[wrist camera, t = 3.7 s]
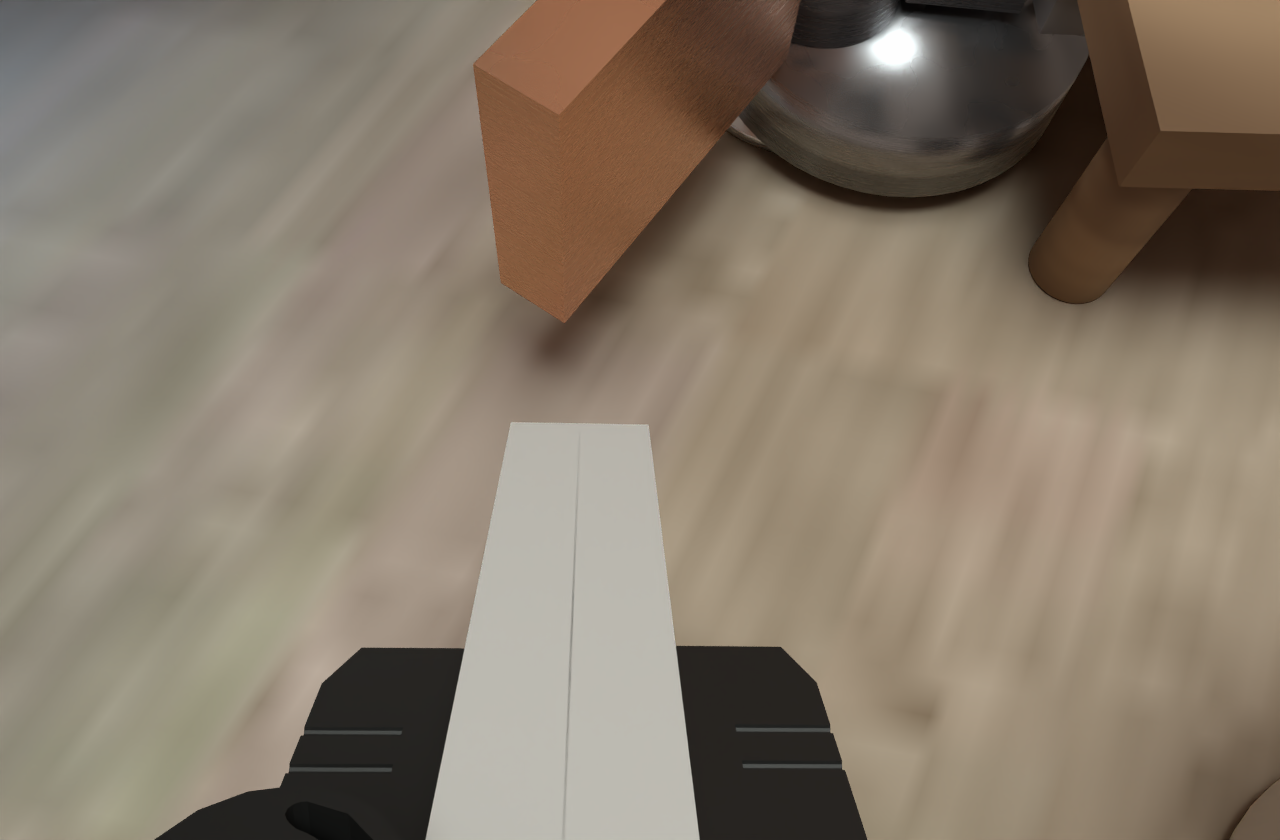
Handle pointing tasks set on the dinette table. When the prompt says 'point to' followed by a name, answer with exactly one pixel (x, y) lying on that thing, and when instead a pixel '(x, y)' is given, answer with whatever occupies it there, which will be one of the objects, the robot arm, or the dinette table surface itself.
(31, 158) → the dinette table surface
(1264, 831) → the coffee cup
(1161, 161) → the stand
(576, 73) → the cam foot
